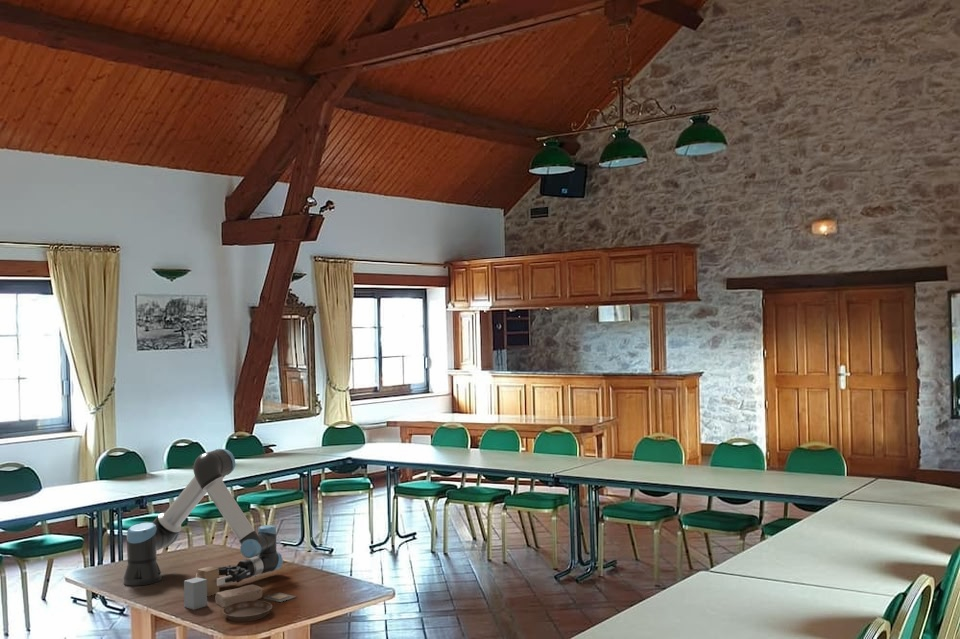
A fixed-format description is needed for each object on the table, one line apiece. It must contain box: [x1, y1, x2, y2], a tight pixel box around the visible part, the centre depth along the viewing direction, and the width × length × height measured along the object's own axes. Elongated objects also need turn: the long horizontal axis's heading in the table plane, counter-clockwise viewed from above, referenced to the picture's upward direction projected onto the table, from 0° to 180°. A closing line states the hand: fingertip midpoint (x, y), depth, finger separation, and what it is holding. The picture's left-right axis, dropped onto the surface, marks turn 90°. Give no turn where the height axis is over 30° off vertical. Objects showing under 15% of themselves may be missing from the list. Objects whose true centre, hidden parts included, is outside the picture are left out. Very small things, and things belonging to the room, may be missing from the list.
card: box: [262, 592, 297, 603], centre depth 359 cm, size 10×8×1 cm
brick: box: [214, 583, 263, 608], centre depth 357 cm, size 16×8×5 cm, turn 130°
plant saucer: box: [222, 600, 273, 623], centre depth 338 cm, size 18×18×3 cm
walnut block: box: [196, 565, 220, 597], centre depth 367 cm, size 6×6×10 cm
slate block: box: [183, 576, 208, 610], centre depth 351 cm, size 6×6×10 cm
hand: (206, 579), depth 366 cm, fingers open, 13 cm apart
